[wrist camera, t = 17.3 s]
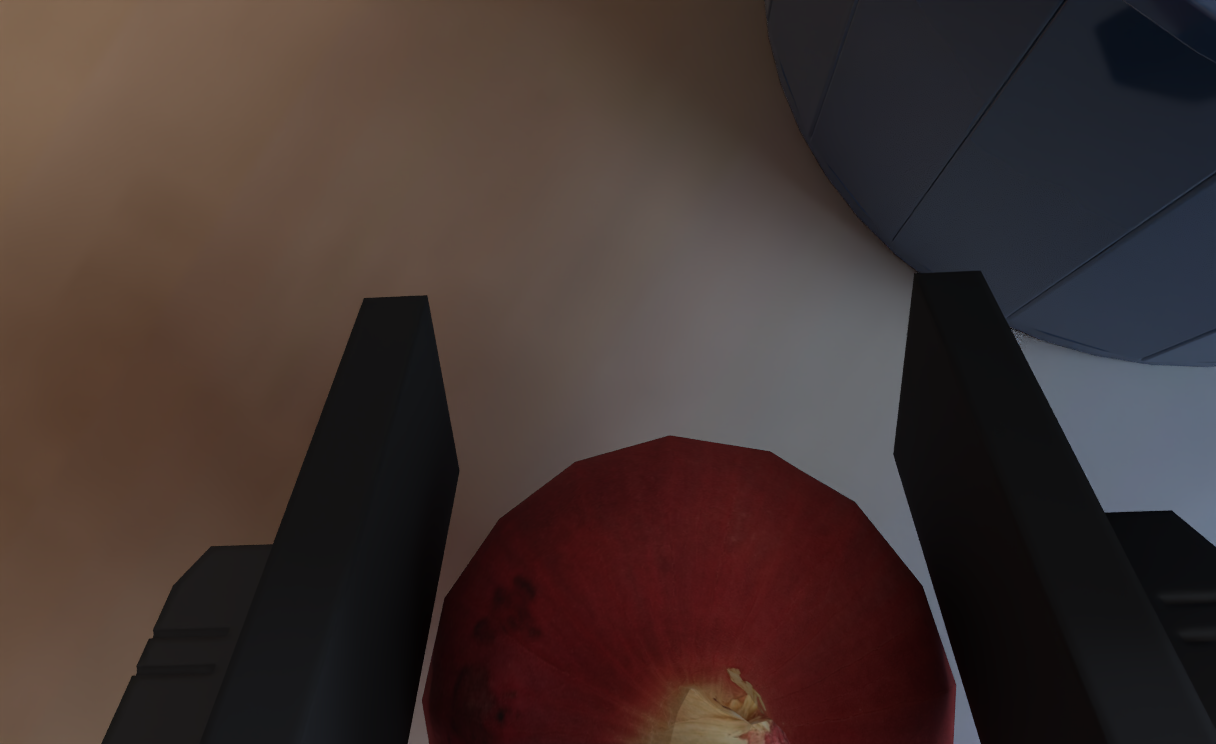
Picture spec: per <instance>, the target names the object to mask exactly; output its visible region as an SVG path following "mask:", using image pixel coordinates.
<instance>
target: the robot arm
mask: <svg viewBox="0 0 1216 744" xmlns="http://www.w3.org/2000/svg"><path fill="white" fill-rule="evenodd" d="M893 455H894V458H895V462H896V465H897V468H898V471H899V475H900V478H901V481H902V485H903V488H904V491H905V495H906V498H907V501H908V504H909V508H910V511H911V514H912V518H913V521H914V524H915V528H916V531H917V534H918V537H919V541H920V544H921V547H922V551H923V554H924V557H925V561H926V564H927V567H928V571H929V574H930V577H931V580H932V584H933V587H934V590H935V594H936V597H937V600H938V604H939V607H940V610H941V613H942V617H943V620H944V623H945V627H946V630H947V633H948V637H949V640H950V643H951V646H952V650H953V653H954V656H955V660H956V663H957V666H958V670H959V673H960V676H961V679H962V683H963V686H964V689H965V693H966V696H967V699H968V703H969V706H970V709H971V713H972V716H973V719H974V722H975V726H976V729H977V732H978V736H979V739H980V742H981V744H1216V547H1215V546H1214V545H1213V544H1211V543H1210V542H1209V541H1208V540H1207V539H1205V538H1204V537H1203V536H1202V535H1201V534H1199V533H1198V532H1197V531H1196V530H1195V529H1193V528H1192V527H1191V526H1190V525H1189V524H1187V523H1186V522H1185V521H1184V520H1183V519H1181V518H1180V517H1179V516H1178V515H1176V514H1175V513H1174V512H1173V511H1172V510H1170V511H1141V512H1111V513H1104V511H1103V509H1102V507H1101V505H1100V503H1099V501H1098V499H1097V497H1096V495H1095V493H1094V491H1093V489H1092V487H1091V485H1090V483H1089V481H1088V479H1087V477H1086V475H1085V473H1084V471H1083V470H1082V468H1081V466H1080V464H1079V462H1078V460H1077V458H1076V456H1075V454H1074V452H1073V450H1072V448H1071V446H1070V444H1069V442H1068V440H1067V438H1066V436H1065V434H1064V432H1063V430H1062V428H1061V426H1060V425H1059V423H1058V421H1057V419H1056V417H1055V415H1054V413H1053V411H1052V409H1051V407H1050V405H1049V403H1048V401H1047V399H1046V397H1045V395H1044V393H1043V391H1042V389H1041V387H1040V385H1039V383H1038V381H1037V380H1036V378H1035V376H1034V374H1033V372H1032V370H1031V368H1030V366H1029V364H1028V362H1027V360H1026V358H1025V356H1024V354H1023V352H1022V350H1021V348H1020V346H1019V344H1018V342H1017V340H1016V338H1015V336H1014V335H1013V333H1012V331H1011V329H1010V327H1009V325H1008V323H1007V321H1006V319H1005V317H1004V315H1003V313H1002V311H1001V309H1000V307H999V305H998V303H997V301H996V299H995V297H994V295H993V293H992V291H991V290H990V288H989V286H988V284H987V282H986V280H985V278H984V276H983V274H982V272H981V270H980V271H957V272H935V273H914V281H913V289H912V298H911V307H910V315H909V324H908V332H907V341H906V350H905V358H904V367H903V376H902V384H901V393H900V402H899V410H898V419H897V427H896V436H895V445H894V453H893ZM458 476H459V465H458V460H457V454H456V449H455V443H454V438H453V433H452V427H451V422H450V416H449V411H448V405H447V400H446V395H445V389H444V384H443V378H442V373H441V367H440V362H439V356H438V351H437V346H436V340H435V335H434V329H433V324H432V318H431V313H430V308H429V302H428V297H427V295H424V296H401V297H379V298H364V299H363V302H362V305H361V308H360V310H359V313H358V316H357V318H356V321H355V324H354V327H353V329H352V332H351V335H350V337H349V340H348V343H347V345H346V348H345V351H344V354H343V356H342V359H341V362H340V364H339V367H338V370H337V373H336V375H335V378H334V381H333V383H332V386H331V389H330V391H329V394H328V397H327V400H326V402H325V405H324V408H323V410H322V413H321V416H320V419H319V421H318V424H317V427H316V429H315V432H314V435H313V437H312V440H311V443H310V446H309V448H308V451H307V454H306V456H305V459H304V462H303V465H302V467H301V470H300V473H299V475H298V478H297V481H296V483H295V486H294V489H293V492H292V494H291V497H290V500H289V502H288V505H287V508H286V511H285V513H284V516H283V519H282V521H281V524H280V527H279V529H278V532H277V535H276V538H275V540H274V543H273V544H268V545H239V546H211V547H210V548H209V549H208V550H207V551H206V552H205V553H204V554H203V555H202V556H201V557H200V558H199V559H198V560H197V561H196V562H195V563H194V564H193V566H192V567H191V568H190V569H189V570H188V571H187V572H186V573H185V574H184V575H183V576H182V577H181V578H180V579H179V580H178V581H177V582H176V583H175V584H174V585H173V587H172V589H171V591H170V594H169V596H168V598H167V600H166V602H165V605H164V607H163V609H162V611H161V613H160V616H159V618H158V620H157V622H156V624H155V627H154V629H153V632H154V635H153V638H152V639H149V640H148V642H147V644H146V646H145V649H144V651H143V653H142V655H141V657H140V660H139V662H138V664H137V666H136V667H137V674H136V676H132V677H131V680H130V682H129V684H128V686H127V688H126V691H125V693H124V695H123V697H122V699H121V702H120V704H119V706H118V708H117V710H116V713H115V715H114V717H113V719H112V721H111V724H110V726H109V728H108V730H107V732H106V735H105V737H104V739H103V741H102V743H101V744H408V739H409V734H410V728H411V723H412V718H413V713H414V707H415V702H416V697H417V692H418V686H419V681H420V676H421V671H422V665H423V660H424V655H425V649H426V644H427V639H428V634H429V628H430V623H431V618H432V613H433V607H434V602H435V597H436V592H437V586H438V581H439V576H440V571H441V565H442V560H443V555H444V550H445V544H446V539H447V534H448V528H449V523H450V518H451V513H452V507H453V502H454V497H455V492H456V486H457V481H458Z"/></svg>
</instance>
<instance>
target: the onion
mask: <svg viewBox="0 0 1216 744" xmlns="http://www.w3.org/2000/svg"><path fill="white" fill-rule="evenodd" d="M955 699H956V683H955V680H954V677H953V674H952V671H951V668H950V665H949V662H948V659H947V657H946V654H945V651H944V648H943V645H942V642H941V639H940V636H939V633H938V630H937V627H936V624H935V621H934V618H933V615H932V612H931V610H930V607H929V604H928V601H927V598H926V595H925V592H924V589H923V586H922V585H921V584H920V582H919V581H918V580H917V578H916V577H915V576H914V575H913V573H912V572H911V571H910V570H909V569H908V567H907V566H906V565H905V564H904V562H903V561H902V560H901V559H900V557H899V556H898V555H897V554H896V552H895V551H894V550H893V549H892V547H891V546H890V545H889V544H888V542H887V541H886V540H885V539H884V537H883V536H882V535H881V534H880V532H879V531H878V530H877V529H876V527H875V526H874V525H873V524H872V522H871V521H870V520H869V519H868V517H867V516H866V515H865V514H864V513H863V511H862V510H861V509H860V508H859V506H858V505H857V504H856V503H855V502H854V501H852V500H851V499H849V498H847V497H845V496H844V495H842V494H840V493H839V492H837V491H835V490H833V489H832V488H830V487H828V486H827V485H825V484H823V483H821V482H820V481H818V480H816V479H815V478H813V477H811V476H809V475H808V474H806V473H804V472H803V471H801V470H799V469H797V468H796V467H794V466H793V465H791V464H789V463H788V462H786V461H785V460H783V459H781V458H780V457H778V456H777V455H775V454H773V453H772V452H770V451H764V450H758V449H752V448H745V447H739V446H733V445H727V444H720V443H714V442H708V441H701V440H695V439H689V438H683V437H676V436H666V437H662V438H659V439H655V440H652V441H648V442H645V443H641V444H637V445H634V446H630V447H627V448H623V449H620V450H616V451H612V452H609V453H605V454H602V455H598V456H595V457H591V458H588V459H584V460H580V461H577V462H574V463H573V464H572V465H571V466H569V467H568V468H567V469H565V470H564V471H563V472H561V473H560V474H559V475H557V476H556V477H555V478H553V479H552V480H551V481H549V482H548V483H547V484H545V485H544V486H543V487H541V488H540V489H539V490H537V491H536V492H535V493H533V494H532V495H531V496H529V497H528V498H527V499H525V500H524V501H523V502H521V503H520V504H519V505H517V506H516V507H515V508H513V509H512V510H511V511H509V512H508V513H507V514H505V515H504V516H503V517H501V518H500V519H499V520H498V522H497V523H496V525H495V526H494V528H493V529H492V530H491V532H490V533H489V535H488V536H487V538H486V539H485V541H484V542H483V543H482V545H481V546H480V548H479V549H478V551H477V552H476V554H475V555H474V557H473V558H472V559H471V561H470V562H469V564H468V565H467V567H466V568H465V570H464V571H463V572H462V574H461V575H460V577H459V578H458V580H457V581H456V583H455V584H454V586H453V587H452V588H451V590H450V591H449V593H448V594H447V596H446V597H445V599H444V603H443V608H442V612H441V617H440V622H439V626H438V631H437V635H436V640H435V644H434V649H433V653H432V658H431V662H430V667H429V671H428V676H427V680H426V685H425V689H424V694H423V698H422V704H423V710H424V716H425V721H426V727H427V733H428V738H429V744H953V740H954V719H955Z"/></svg>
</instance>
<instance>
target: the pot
mask: <svg viewBox="0 0 1216 744" xmlns="http://www.w3.org/2000/svg"><path fill="white" fill-rule="evenodd" d="M764 1H765V10H766V19H767V28H768V37H769V40H770V44H771V48H772V52H773V56H774V60H775V64H776V68H777V71H778V75H779V79H780V83H781V86H782V88H783V91H784V93H785V96H786V98H787V100H788V103H789V105H790V108H791V110H792V113H793V115H794V117H795V120H796V122H797V125H798V127H799V130H800V132H801V133H802V135H803V137H804V139H805V140H806V142H807V144H808V145H809V147H810V149H811V151H812V152H813V154H814V156H815V158H816V159H817V161H818V163H819V164H820V166H821V168H822V170H823V171H824V173H825V175H826V176H827V177H828V179H829V180H830V181H831V183H832V184H833V185H834V187H835V188H836V189H837V190H838V192H839V193H840V194H841V196H842V197H843V198H844V200H845V201H846V202H847V203H848V205H849V206H850V207H851V209H852V210H853V211H854V212H855V214H856V215H857V216H858V217H859V218H860V219H861V220H862V221H863V222H864V223H865V224H866V225H867V226H868V227H869V228H870V229H871V230H872V231H873V232H874V233H875V234H876V235H877V236H878V237H879V238H880V239H881V240H882V241H883V242H884V243H885V244H886V245H887V246H888V247H889V248H890V249H891V250H892V251H893V252H894V253H895V254H896V255H897V256H898V257H899V258H901V259H902V260H903V261H905V262H906V263H907V264H908V265H910V266H911V267H912V268H914V269H915V270H916V271H918V272H919V273H935V272H957V271H980V270H981V272H982V274H983V276H984V278H985V280H986V282H987V284H988V286H989V288H990V290H991V291H992V293H993V295H994V297H995V299H996V301H997V303H998V305H999V307H1000V309H1001V311H1002V313H1003V315H1004V317H1005V319H1006V321H1007V323H1008V325H1009V326H1010V327H1012V328H1015V329H1017V330H1019V331H1022V332H1024V333H1026V334H1028V335H1031V336H1033V337H1035V338H1038V339H1040V340H1044V341H1047V342H1050V343H1054V344H1057V345H1061V346H1064V347H1067V348H1071V349H1074V350H1078V351H1081V352H1084V353H1088V354H1091V355H1095V356H1101V357H1107V358H1113V359H1119V360H1125V361H1131V362H1137V363H1143V364H1149V365H1170V366H1196V367H1214V366H1216V63H1215V62H1213V61H1211V60H1209V59H1207V58H1206V57H1204V56H1202V55H1200V54H1198V53H1196V52H1195V51H1194V50H1192V49H1191V48H1189V47H1188V46H1187V45H1185V44H1184V43H1182V42H1181V41H1179V40H1178V39H1177V38H1175V37H1174V36H1172V35H1171V34H1169V33H1168V32H1167V31H1165V30H1164V29H1162V28H1161V27H1160V26H1158V25H1157V24H1155V23H1154V22H1152V21H1151V20H1150V19H1148V18H1147V17H1145V16H1144V15H1142V14H1141V13H1140V12H1138V11H1137V10H1135V9H1134V8H1132V7H1131V6H1130V5H1128V4H1127V3H1125V2H1124V1H1123V0H764Z"/></svg>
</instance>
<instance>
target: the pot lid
mask: <svg viewBox="0 0 1216 744" xmlns="http://www.w3.org/2000/svg"><path fill="white" fill-rule="evenodd" d="M1123 1H1124V2H1125V3H1127V4H1128V5H1130V6H1131V7H1132V8H1134V9H1135V10H1137V11H1138V12H1140V13H1141V14H1142V15H1144V16H1145V17H1147V18H1148V19H1150V20H1151V21H1152V22H1154V23H1155V24H1157V25H1158V26H1160V27H1161V28H1162V29H1164V30H1165V31H1167V32H1168V33H1169V34H1171V35H1172V36H1174V37H1175V38H1177V39H1178V40H1179V41H1181V42H1182V43H1184V44H1185V45H1187V46H1188V47H1189V48H1191V49H1192V50H1194V51H1195V52H1196V53H1198V54H1200V55H1202V56H1204V57H1206V58H1207V59H1209V60H1211V61H1213V62H1215V63H1216V0H1123Z"/></svg>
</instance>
